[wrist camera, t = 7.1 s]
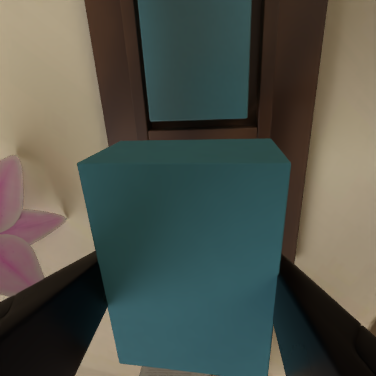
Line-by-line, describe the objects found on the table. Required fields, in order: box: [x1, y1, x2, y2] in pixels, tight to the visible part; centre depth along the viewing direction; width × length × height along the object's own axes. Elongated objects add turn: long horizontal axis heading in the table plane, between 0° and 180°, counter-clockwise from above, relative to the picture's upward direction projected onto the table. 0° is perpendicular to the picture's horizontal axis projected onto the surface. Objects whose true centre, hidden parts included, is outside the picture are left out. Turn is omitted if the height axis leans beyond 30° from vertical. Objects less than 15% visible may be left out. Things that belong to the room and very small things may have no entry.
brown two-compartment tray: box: [85, 0, 328, 264], centre depth 16 cm, size 14×22×4 cm, turn 3°
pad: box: [77, 138, 291, 376], centre depth 9 cm, size 6×8×3 cm
